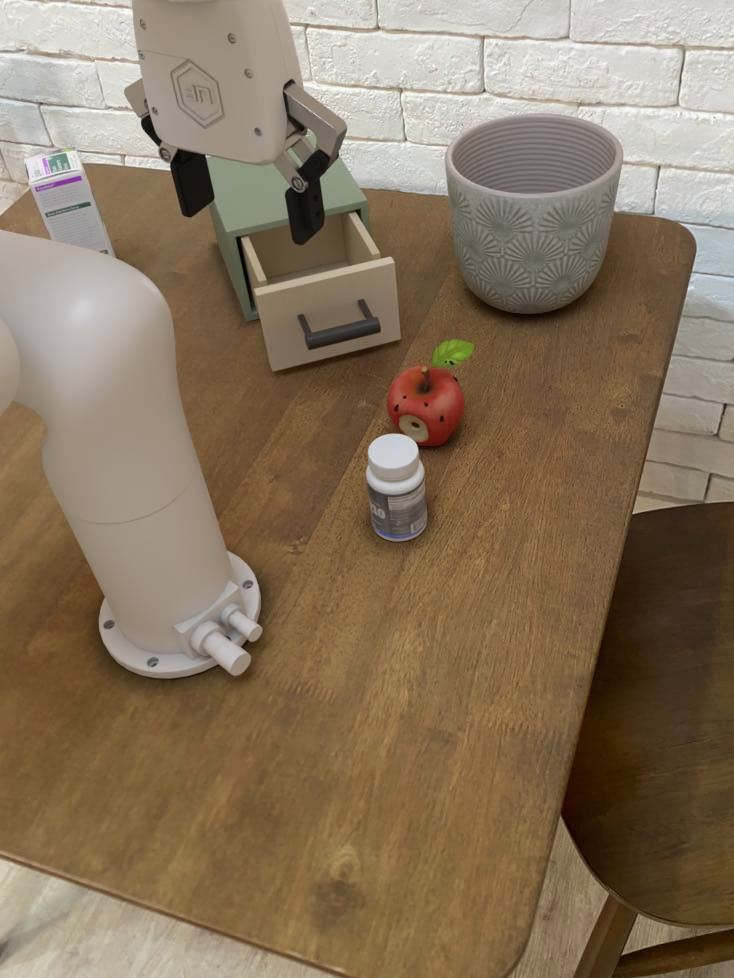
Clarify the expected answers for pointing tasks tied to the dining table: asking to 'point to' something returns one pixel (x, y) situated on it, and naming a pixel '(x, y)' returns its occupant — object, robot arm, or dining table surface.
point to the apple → (430, 396)
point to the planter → (532, 207)
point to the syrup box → (67, 200)
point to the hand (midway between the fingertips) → (252, 221)
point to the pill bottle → (396, 488)
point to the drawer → (320, 291)
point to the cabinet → (268, 207)
